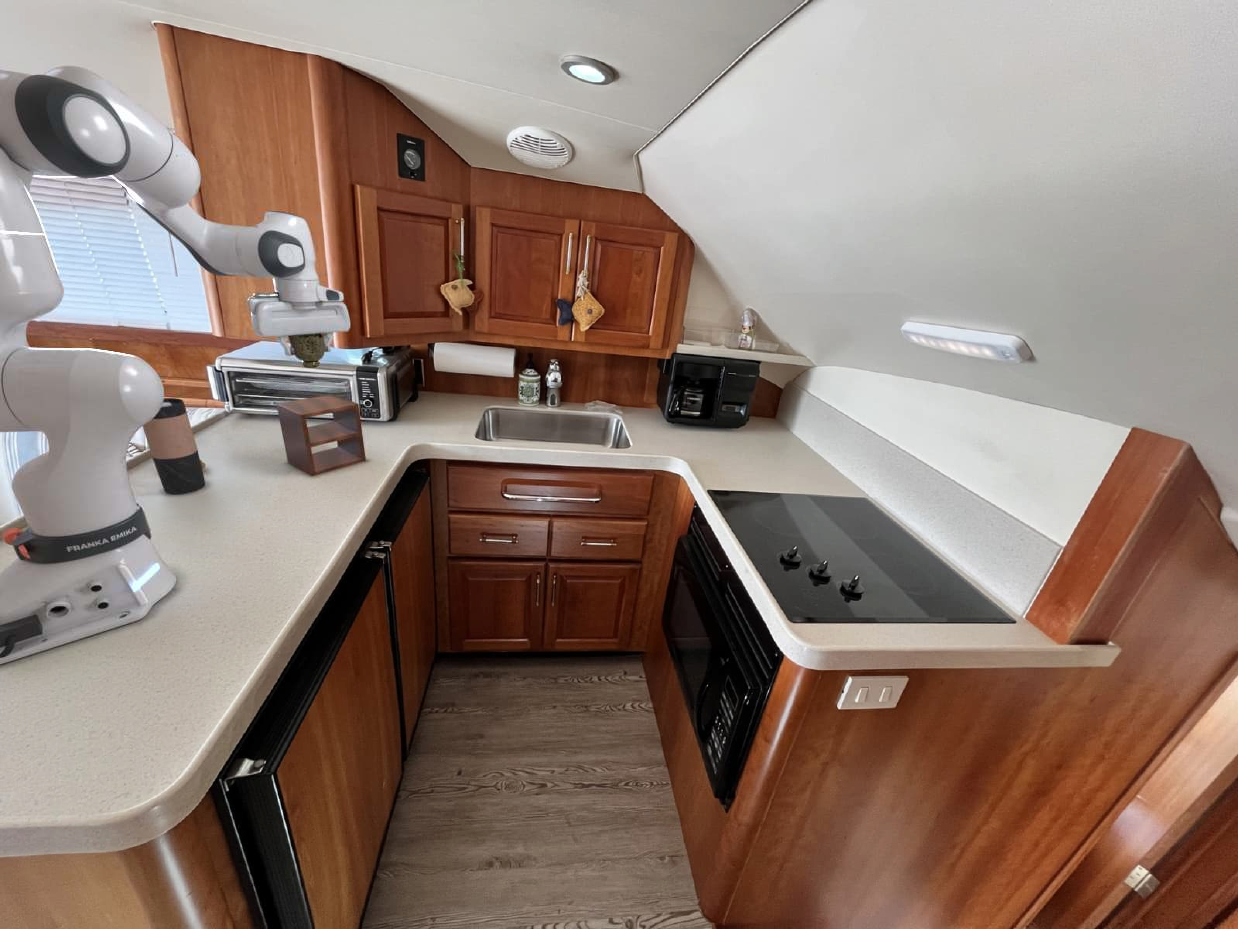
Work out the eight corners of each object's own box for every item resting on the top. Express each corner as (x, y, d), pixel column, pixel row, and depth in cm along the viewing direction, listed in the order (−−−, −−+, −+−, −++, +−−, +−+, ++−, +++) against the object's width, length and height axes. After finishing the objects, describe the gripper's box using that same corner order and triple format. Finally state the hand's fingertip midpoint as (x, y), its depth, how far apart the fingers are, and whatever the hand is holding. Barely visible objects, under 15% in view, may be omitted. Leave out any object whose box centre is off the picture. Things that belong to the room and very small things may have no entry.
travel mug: (195, 494, 108) (170, 408, 101) (154, 495, 107) (126, 407, 99) (214, 480, 115) (191, 398, 108) (175, 480, 114) (150, 397, 106)
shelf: (311, 476, 121) (300, 414, 115) (287, 463, 127) (276, 403, 121) (366, 460, 132) (358, 403, 126) (341, 449, 138) (333, 394, 132)
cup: (312, 371, 114) (307, 336, 110) (285, 367, 115) (279, 332, 112) (336, 365, 120) (331, 332, 117) (310, 362, 122) (304, 329, 118)
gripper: (252, 294, 101) (266, 360, 107) (349, 293, 117) (357, 351, 123) (239, 290, 105) (252, 355, 110) (335, 290, 121) (343, 347, 126)
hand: (308, 353), depth 117 cm, fingers closed on cup, 6 cm apart
